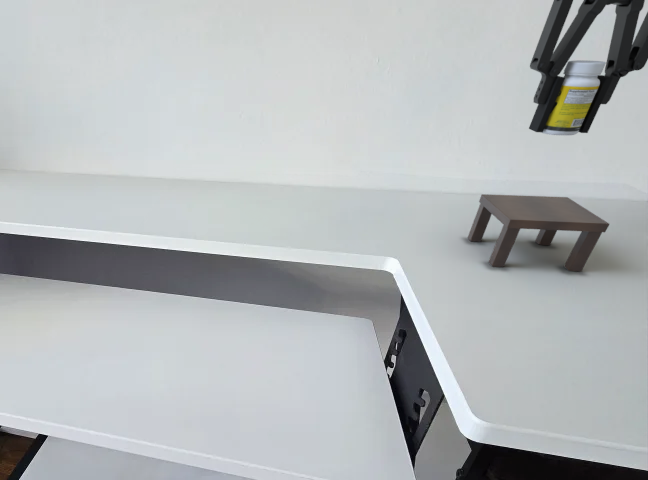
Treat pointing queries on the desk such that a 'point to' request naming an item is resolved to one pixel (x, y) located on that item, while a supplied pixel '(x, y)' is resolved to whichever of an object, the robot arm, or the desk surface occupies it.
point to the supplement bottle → (574, 97)
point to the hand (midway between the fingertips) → (557, 130)
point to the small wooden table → (537, 224)
